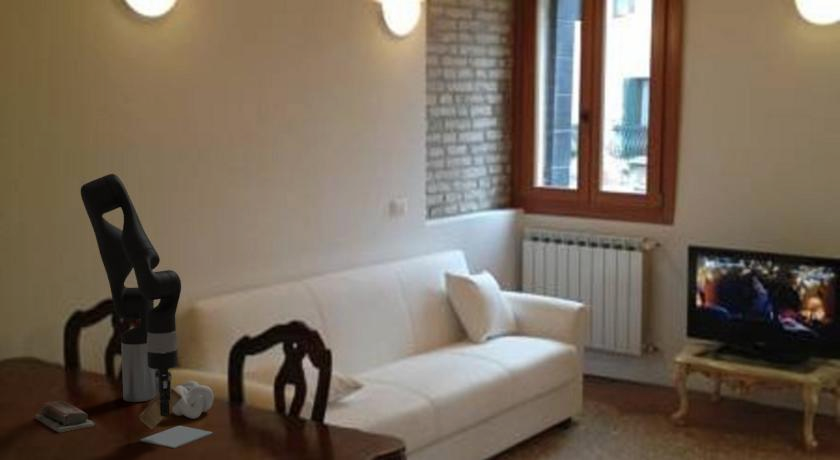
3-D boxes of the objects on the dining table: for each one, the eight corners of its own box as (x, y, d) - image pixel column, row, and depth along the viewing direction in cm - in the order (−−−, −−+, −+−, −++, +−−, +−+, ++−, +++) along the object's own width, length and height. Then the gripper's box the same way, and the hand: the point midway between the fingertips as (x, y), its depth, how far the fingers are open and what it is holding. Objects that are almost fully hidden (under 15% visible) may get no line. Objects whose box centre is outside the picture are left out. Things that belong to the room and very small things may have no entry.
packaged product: (33, 403, 281) (69, 396, 287) (34, 420, 281) (69, 413, 288) (58, 416, 267) (95, 410, 274) (59, 434, 268) (95, 427, 274)
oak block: (139, 415, 262) (169, 383, 264) (150, 425, 263) (180, 393, 265) (140, 419, 258) (170, 387, 260) (152, 429, 259) (182, 397, 261)
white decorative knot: (159, 415, 283) (158, 384, 283) (195, 406, 292) (194, 376, 291) (182, 423, 276) (181, 391, 275) (219, 414, 285) (218, 382, 284)
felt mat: (179, 426, 272) (179, 425, 272) (212, 433, 266) (212, 432, 266) (140, 441, 260) (140, 439, 260) (174, 448, 254) (174, 446, 254)
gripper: (145, 343, 266) (147, 407, 267) (148, 355, 252) (151, 422, 254) (174, 341, 268) (176, 405, 270) (179, 353, 255) (181, 419, 256)
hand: (164, 413), depth 262 cm, fingers closed on oak block, 4 cm apart
